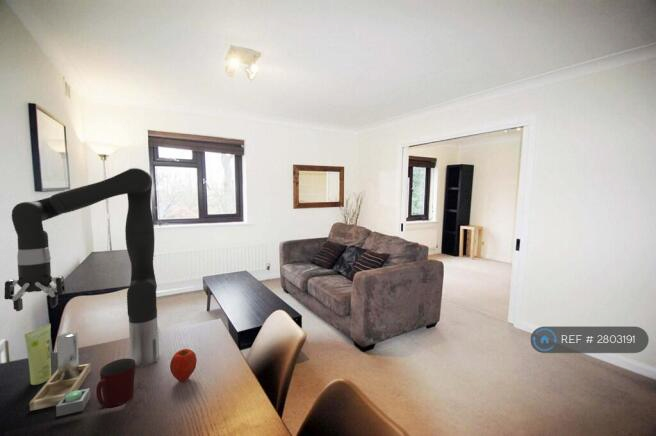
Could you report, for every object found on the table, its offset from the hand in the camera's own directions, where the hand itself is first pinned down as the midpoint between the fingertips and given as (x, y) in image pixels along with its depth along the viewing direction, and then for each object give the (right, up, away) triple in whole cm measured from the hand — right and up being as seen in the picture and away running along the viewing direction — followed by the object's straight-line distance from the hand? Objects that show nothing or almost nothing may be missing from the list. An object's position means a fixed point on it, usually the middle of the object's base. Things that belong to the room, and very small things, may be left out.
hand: (36, 308), depth 94 cm
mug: (+32, -28, -7) cm, 43 cm away
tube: (-1, -27, +2) cm, 26 cm away
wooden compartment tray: (+11, -27, -2) cm, 29 cm away
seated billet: (+9, -25, +2) cm, 27 cm away
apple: (+47, -27, +5) cm, 55 cm away
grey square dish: (+22, -28, -10) cm, 36 cm away
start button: (+22, -26, -10) cm, 35 cm away
